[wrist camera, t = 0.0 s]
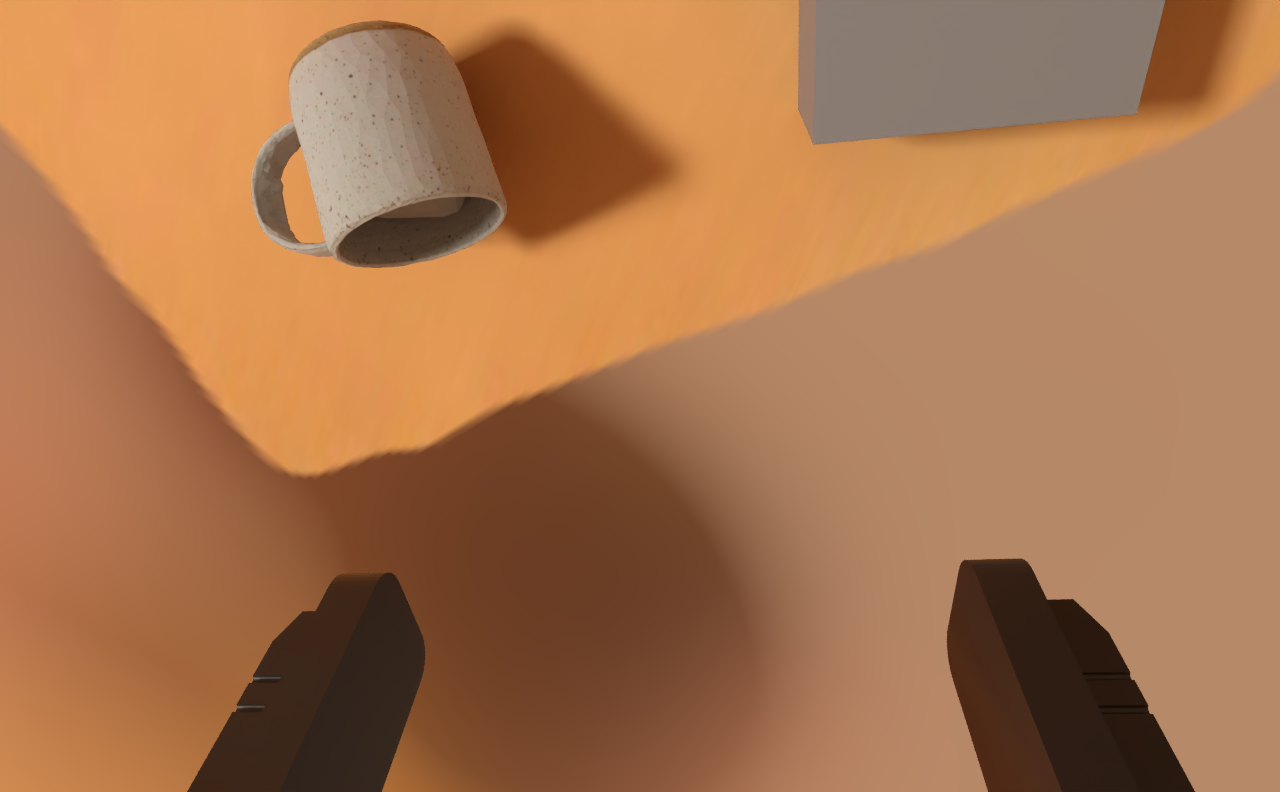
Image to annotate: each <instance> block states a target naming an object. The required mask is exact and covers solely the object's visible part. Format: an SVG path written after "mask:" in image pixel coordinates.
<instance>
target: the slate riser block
mask: <svg viewBox="0 0 1280 792" xmlns="http://www.w3.org/2000/svg"><path fill="white" fill-rule="evenodd" d="M1164 4H1165V0H799V87H798V109H799V112H800V114H801V116H802V119H803V121H804V123H805V126H806V128H807V131H808V133H809V135H810V138H811V140H812V142H813V145H814V144H825V143H836V142H846V141H857V140H867V139H878V138H889V137H899V136H910V135H921V134H931V133H942V132H952V131H963V130H974V129H984V128H995V127H1006V126H1016V125H1027V124H1038V123H1048V122H1059V121H1069V120H1080V119H1091V118H1101V117H1112V116H1123V115H1133V114H1137V111H1138V107H1139V103H1140V99H1141V95H1142V91H1143V87H1144V83H1145V79H1146V75H1147V71H1148V67H1149V63H1150V59H1151V55H1152V52H1153V48H1154V44H1155V40H1156V36H1157V32H1158V28H1159V24H1160V20H1161V16H1162V12H1163V8H1164Z"/></svg>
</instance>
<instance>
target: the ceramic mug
mask: <svg viewBox="0 0 1280 792" xmlns="http://www.w3.org/2000/svg"><path fill="white" fill-rule="evenodd" d="M289 94H290V107H291V112H292V117H293V120H292V121H291V122H289V123H287V124H285V125H283V126H282V127H281V128H280V129H278V130H277V131H275V132H274V133H273V134H272V135H271V136H270V138H269V139H268V140H267V141H266V142H265V143H264V144H263V145H262V147H261V149H260V151H259V153H258V156H257V158H256V161H255V164H254V168H253V172H252V181H251V188H252V201H253V206H254V210H255V214H256V217H257V219H258V222H259V224H260V226H261V228H262V230H263V231H264V233H265V234H266V235H267V236H268V237H269V238H270V239H271V240H272V241H273V242H275V243H276V244H278V245H280V246H282V247H284V248H286V249H288V250H290V251H293V252H298V253H303V254H308V255H313V256H318V257H322V256H333V258H334V259H336V260H338V261H339V262H342V263H345V264H347V265H351V266H355V267H371V268H381V267H398V266H405V265H409V264H413V263H418V262H423V261H429V260H433V259H436V258H440V257H443V256H446V255H449V254H452V253H456V252H457V251H459V250H462V249H465V248H467V247H469V246H471V245H473V244H474V243H477V242H479V241H481V240H482V239H484V238H485V237H487V236H488V235H490V234H492V233H493V232H494V231H495V230H496V229H497V228H498V227H499V226H500V225H501V224H502V223H503V221H504V219H505V217H506V214H507V202H506V199H505V196H504V193H503V191H502V188H501V185H500V182H499V180H498V177H497V174H496V172H495V169H494V166H493V163H492V160H491V157H490V154H489V151H488V149H487V146H486V143H485V140H484V137H483V135H482V132H481V129H480V127H479V124H478V122H477V119H476V116H475V114H474V111H473V108H472V104H471V101H470V98H469V95H468V92H467V89H466V86H465V84H464V81H463V79H462V76H461V74H460V72H459V70H458V68H457V67H456V65H455V63H454V61H453V59H452V57H451V56H450V54H449V53H448V51H447V50H446V48H445V47H444V45H443V44H442V43H441V42H440V41H439V40H438V39H436V38H435V37H434V36H432V35H431V34H430V33H428V32H426V31H424V30H422V29H420V28H418V27H415V26H412V25H408V24H404V23H396V22H388V21H380V20H379V21H370V22H361V23H354V24H350V25H347V26H344V27H340V28H337V29H334V30H332V31H330V32H327V33H325V34H324V35H322V36H320V37H319V38H317V39H316V40H314V41H313V42H311V43H310V44H309V45H308V46H307V47H306V48H305V49H304V50H303V51H302V52H301V53H300V54H299V55H298V57H297V58H296V60H295V61H294V63H293V65H292V67H291V71H290V74H289ZM300 146H301V148H302V151H303V154H304V158H305V161H306V166H307V170H308V174H309V178H310V182H311V186H312V190H313V194H314V198H315V202H316V206H317V210H318V214H319V218H320V222H321V226H322V230H323V234H324V238H325V242H322V243H301V242H299V241H298V240H297V239H296V238H295V235H294V233H293V232H292V231H291V230H290V226H289V224H288V219H287V215H286V210H285V205H284V199H283V194H282V192H283V184H282V182H281V176H282V173H283V170H284V168H285V166H286V164H287V162H288V160H289V159H290V157H291V156H292V155H293V154H294V153H295V152H296V151H297V150H298V149H299V147H300Z"/></svg>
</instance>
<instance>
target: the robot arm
mask: <svg viewBox="0 0 1280 792" xmlns="http://www.w3.org/2000/svg"><path fill="white" fill-rule="evenodd" d="M947 650H948V659H949V665H950V670H951V674H952V678H953V681H954V685H955V688H956V691H957V694H958V697H959V700H960V704H961V706H962V710H963V713H964V716H965V719H966V722H967V726H968V729H969V732H970V735H971V738H972V742H973V745H974V748H975V751H976V754H977V758H978V761H979V764H980V767H981V770H982V773H983V777H984V780H985V783H986V786H987V789H988V792H1195V791H1194V789H1193V787H1192V785H1191V783H1190V782H1189V780H1188V778H1187V776H1186V774H1185V772H1184V771H1183V769H1182V767H1181V765H1180V764H1179V761H1178V760H1177V758H1176V756H1175V754H1174V752H1173V750H1172V748H1171V747H1170V745H1169V743H1168V741H1167V739H1166V737H1165V736H1164V734H1163V732H1162V730H1161V728H1160V726H1159V724H1158V723H1157V721H1156V719H1155V717H1154V715H1153V714H1150V713H1149V711H1148V704H1147V702H1146V701H1145V699H1144V697H1143V695H1142V693H1141V691H1140V690H1139V688H1138V686H1137V684H1136V682H1135V680H1131V677H1130V671H1129V669H1128V668H1127V666H1126V664H1125V662H1124V660H1123V658H1122V656H1121V654H1120V653H1119V651H1118V649H1117V647H1116V645H1115V643H1114V642H1113V640H1112V638H1111V636H1110V634H1109V633H1108V632H1107V631H1106V630H1105V629H1104V628H1103V627H1102V626H1101V625H1100V624H1099V623H1098V622H1097V621H1096V620H1095V619H1094V618H1093V617H1092V616H1090V615H1089V614H1088V613H1087V612H1086V611H1085V610H1084V609H1083V608H1082V607H1081V606H1080V605H1079V604H1078V603H1077V602H1075V601H1074V600H1073V599H1067V600H1066V599H1062V600H1047V599H1046V597H1045V594H1044V592H1043V590H1042V588H1041V586H1040V584H1039V582H1038V580H1037V578H1036V576H1035V574H1034V572H1033V570H1032V568H1031V566H1030V565H1029V564H1028V562H1026V561H1025V560H1023V559H987V560H986V559H985V560H964V561H963V562H962V563H961V565H960V568H959V572H958V577H957V583H956V588H955V593H954V598H953V604H952V609H951V614H950V620H949V625H948V631H947ZM424 664H425V646H424V640H423V636H422V634H421V631H420V629H419V627H418V624H417V622H416V620H415V617H414V615H413V613H412V611H411V608H410V606H409V604H408V601H407V599H406V597H405V594H404V592H403V590H402V588H401V585H400V583H399V581H398V579H397V578H396V576H395V575H394V574H392V573H352V574H340V575H338V576H337V577H336V578H335V579H334V580H333V581H332V582H331V584H330V586H329V587H328V589H327V591H326V593H325V595H324V597H323V598H322V600H321V602H320V604H319V606H318V608H317V610H316V611H307V612H302V613H301V614H300V615H299V616H298V617H297V618H296V619H295V620H294V621H293V622H292V623H291V624H290V625H289V626H288V627H287V628H286V629H285V630H284V631H283V632H282V633H281V634H280V635H279V636H278V637H277V638H276V639H275V640H274V641H273V642H272V644H271V645H270V647H269V649H268V651H267V652H266V654H265V656H264V658H263V659H262V661H261V663H260V665H259V666H258V668H257V670H256V672H255V673H254V675H253V678H254V679H253V682H252V683H249V684H248V686H247V687H246V689H245V691H244V693H243V695H242V696H241V698H240V700H239V702H238V704H237V710H236V712H232V714H231V716H230V717H229V719H228V721H227V723H226V724H225V726H224V728H223V730H222V732H221V733H220V735H219V737H218V739H217V741H216V742H215V744H214V746H213V748H212V749H211V751H210V753H209V754H208V756H207V758H206V760H205V761H204V763H203V765H202V767H201V768H200V770H199V772H198V774H197V776H196V777H195V779H194V781H193V783H192V784H191V786H190V788H189V790H188V791H187V792H382V789H383V787H384V783H385V781H386V778H387V775H388V772H389V769H390V767H391V764H392V761H393V758H394V755H395V753H396V749H397V747H398V744H399V741H400V738H401V736H402V733H403V730H404V727H405V724H406V721H407V719H408V716H409V713H410V710H411V707H412V705H413V702H414V699H415V696H416V693H417V690H418V688H419V684H420V682H421V679H422V675H423V670H424Z"/></svg>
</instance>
